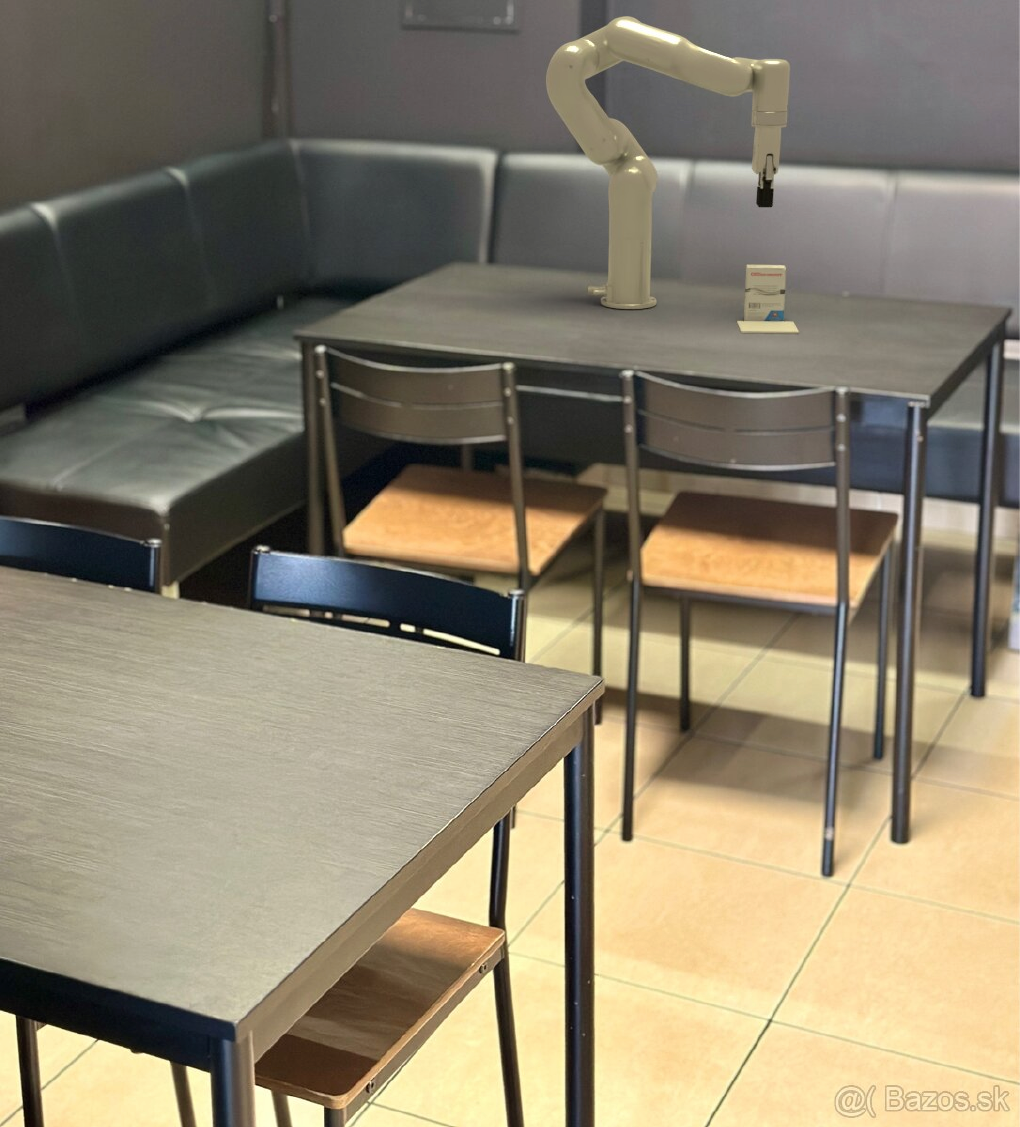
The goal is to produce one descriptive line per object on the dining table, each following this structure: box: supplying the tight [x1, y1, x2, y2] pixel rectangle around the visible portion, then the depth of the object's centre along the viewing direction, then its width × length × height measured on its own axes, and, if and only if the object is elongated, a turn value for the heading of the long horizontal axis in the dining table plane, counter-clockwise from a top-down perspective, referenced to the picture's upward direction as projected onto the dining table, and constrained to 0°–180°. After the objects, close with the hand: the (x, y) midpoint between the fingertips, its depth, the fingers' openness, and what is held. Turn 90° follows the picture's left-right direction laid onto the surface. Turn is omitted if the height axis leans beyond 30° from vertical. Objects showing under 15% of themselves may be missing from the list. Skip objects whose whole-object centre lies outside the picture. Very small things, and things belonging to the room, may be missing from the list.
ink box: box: [743, 264, 787, 321], centre depth 345 cm, size 8×5×12 cm, turn 84°
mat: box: [736, 320, 800, 335], centre depth 339 cm, size 12×10×1 cm
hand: (764, 205), depth 348 cm, fingers closed
